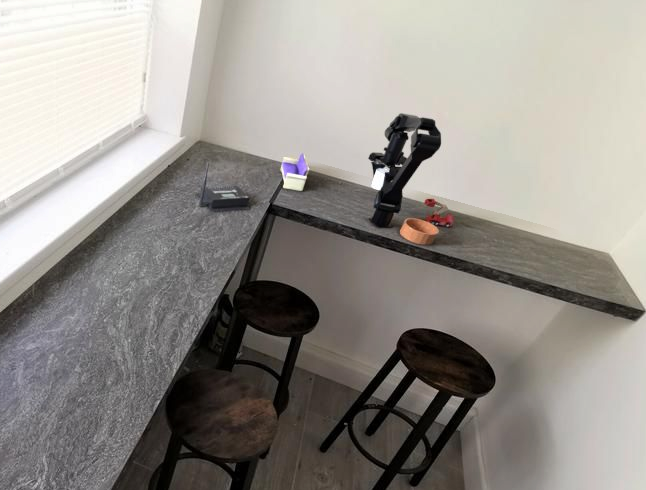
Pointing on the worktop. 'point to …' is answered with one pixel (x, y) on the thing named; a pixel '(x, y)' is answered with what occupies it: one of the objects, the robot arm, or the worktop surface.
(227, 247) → the worktop surface
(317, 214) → the worktop surface
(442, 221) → the toy fire truck
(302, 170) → the toy sofa
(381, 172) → the shot glass
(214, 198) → the black wifi router
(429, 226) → the bowl
